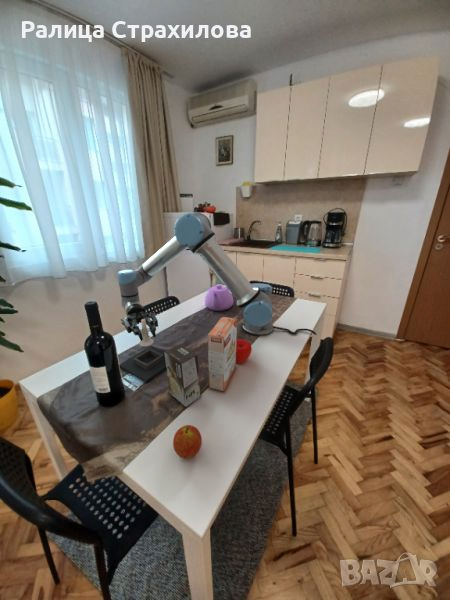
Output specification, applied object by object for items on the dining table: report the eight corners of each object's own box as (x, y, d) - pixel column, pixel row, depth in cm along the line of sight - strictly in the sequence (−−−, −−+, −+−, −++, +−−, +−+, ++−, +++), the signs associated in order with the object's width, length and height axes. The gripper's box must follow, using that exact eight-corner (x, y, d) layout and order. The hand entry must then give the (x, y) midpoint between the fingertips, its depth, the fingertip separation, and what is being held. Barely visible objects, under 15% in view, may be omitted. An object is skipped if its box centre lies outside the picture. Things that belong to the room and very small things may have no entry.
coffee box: (201, 396, 77) (199, 354, 71) (185, 407, 73) (181, 364, 67) (183, 383, 83) (180, 343, 77) (168, 392, 79) (163, 351, 73)
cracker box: (225, 392, 79) (224, 337, 71) (208, 388, 80) (206, 334, 73) (236, 367, 91) (237, 318, 83) (222, 364, 93) (221, 315, 85)
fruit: (178, 470, 56) (175, 446, 53) (171, 445, 61) (168, 422, 58) (206, 457, 58) (205, 434, 55) (197, 434, 64) (195, 412, 61)
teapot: (208, 298, 158) (207, 278, 153) (235, 299, 156) (235, 279, 151) (200, 314, 135) (198, 291, 130) (231, 316, 133) (231, 293, 128)
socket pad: (178, 359, 96) (178, 353, 95) (146, 382, 83) (145, 375, 82) (151, 347, 104) (150, 341, 103) (119, 367, 91) (117, 360, 90)
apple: (247, 369, 90) (248, 351, 87) (225, 364, 93) (225, 347, 90) (253, 356, 98) (254, 339, 95) (233, 352, 100) (233, 335, 97)
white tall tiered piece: (141, 348, 87) (138, 322, 83) (137, 342, 91) (133, 317, 87) (155, 343, 90) (152, 319, 86) (150, 337, 94) (147, 314, 90)
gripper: (155, 315, 108) (172, 338, 89) (115, 323, 100) (124, 351, 81) (154, 299, 105) (170, 320, 86) (112, 307, 97) (120, 332, 78)
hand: (147, 335), depth 84 cm, fingers closed on white tall tiered piece, 4 cm apart
